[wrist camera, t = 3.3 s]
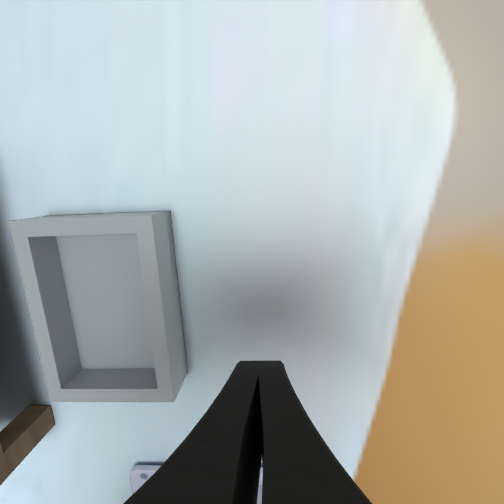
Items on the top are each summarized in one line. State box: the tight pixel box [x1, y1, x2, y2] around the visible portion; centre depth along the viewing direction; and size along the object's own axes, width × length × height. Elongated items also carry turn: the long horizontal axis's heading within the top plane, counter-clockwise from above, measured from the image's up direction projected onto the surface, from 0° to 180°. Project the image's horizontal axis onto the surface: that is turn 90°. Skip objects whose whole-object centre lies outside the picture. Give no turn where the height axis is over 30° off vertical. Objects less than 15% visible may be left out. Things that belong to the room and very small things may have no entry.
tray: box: [8, 211, 187, 402], centre depth 16 cm, size 7×10×3 cm
